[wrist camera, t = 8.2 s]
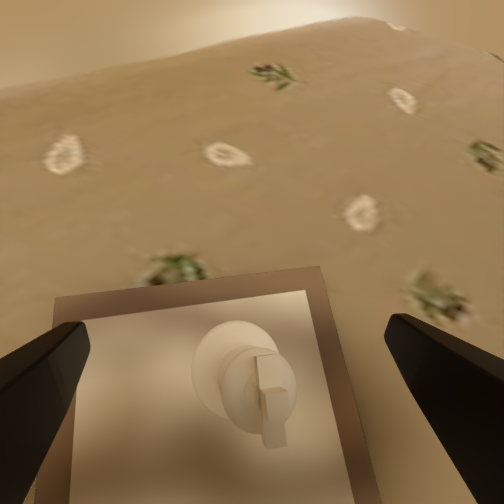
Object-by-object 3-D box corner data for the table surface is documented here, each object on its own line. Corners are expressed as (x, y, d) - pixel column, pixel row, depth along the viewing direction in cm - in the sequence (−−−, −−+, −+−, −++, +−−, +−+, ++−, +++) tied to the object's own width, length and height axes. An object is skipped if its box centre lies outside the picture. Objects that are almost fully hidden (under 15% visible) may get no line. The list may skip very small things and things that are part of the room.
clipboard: (427, 704, 11) (449, 741, 10) (3, 919, 8) (-28, 1001, 7) (316, 268, 18) (322, 263, 16) (61, 299, 15) (49, 295, 14)
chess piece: (192, 425, 13) (127, 640, 3) (190, 324, 14) (143, 284, 5) (286, 410, 13) (441, 553, 4) (274, 316, 15) (365, 269, 6)
